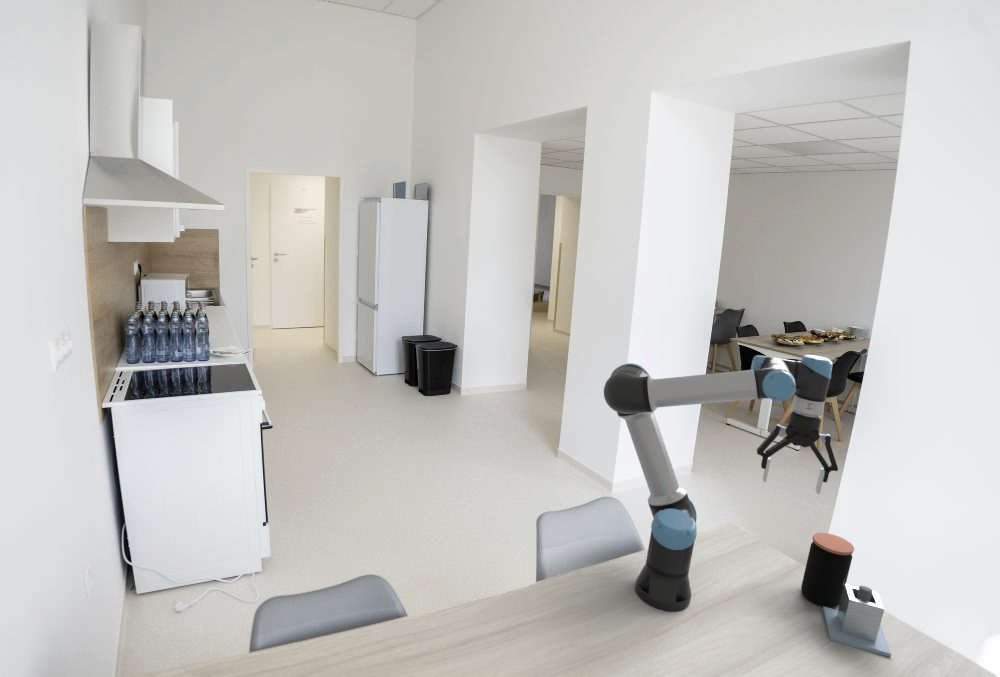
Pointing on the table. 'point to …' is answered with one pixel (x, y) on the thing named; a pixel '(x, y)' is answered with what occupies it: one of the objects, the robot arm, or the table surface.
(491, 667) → the table surface
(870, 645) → the blue base with peg
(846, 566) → the coffee jar
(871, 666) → the table surface
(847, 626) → the square metal tube
